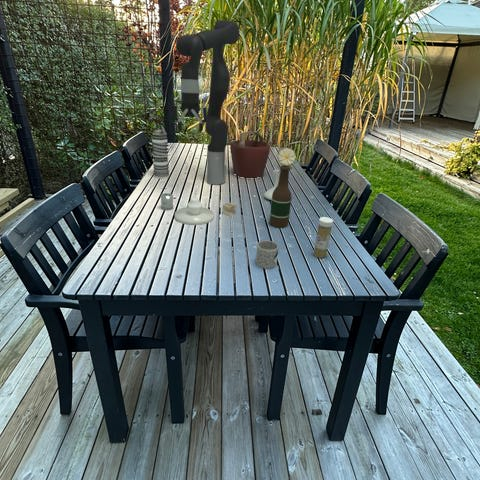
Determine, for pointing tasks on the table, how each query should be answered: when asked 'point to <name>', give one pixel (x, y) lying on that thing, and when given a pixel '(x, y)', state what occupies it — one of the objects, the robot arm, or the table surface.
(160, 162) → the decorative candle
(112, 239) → the table surface
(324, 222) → the sprinkles bottle
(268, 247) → the mug
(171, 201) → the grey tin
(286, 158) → the flower in vase
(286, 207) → the beer bottle
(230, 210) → the brass block
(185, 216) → the white bowl
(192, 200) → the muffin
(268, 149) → the brown flower pot
